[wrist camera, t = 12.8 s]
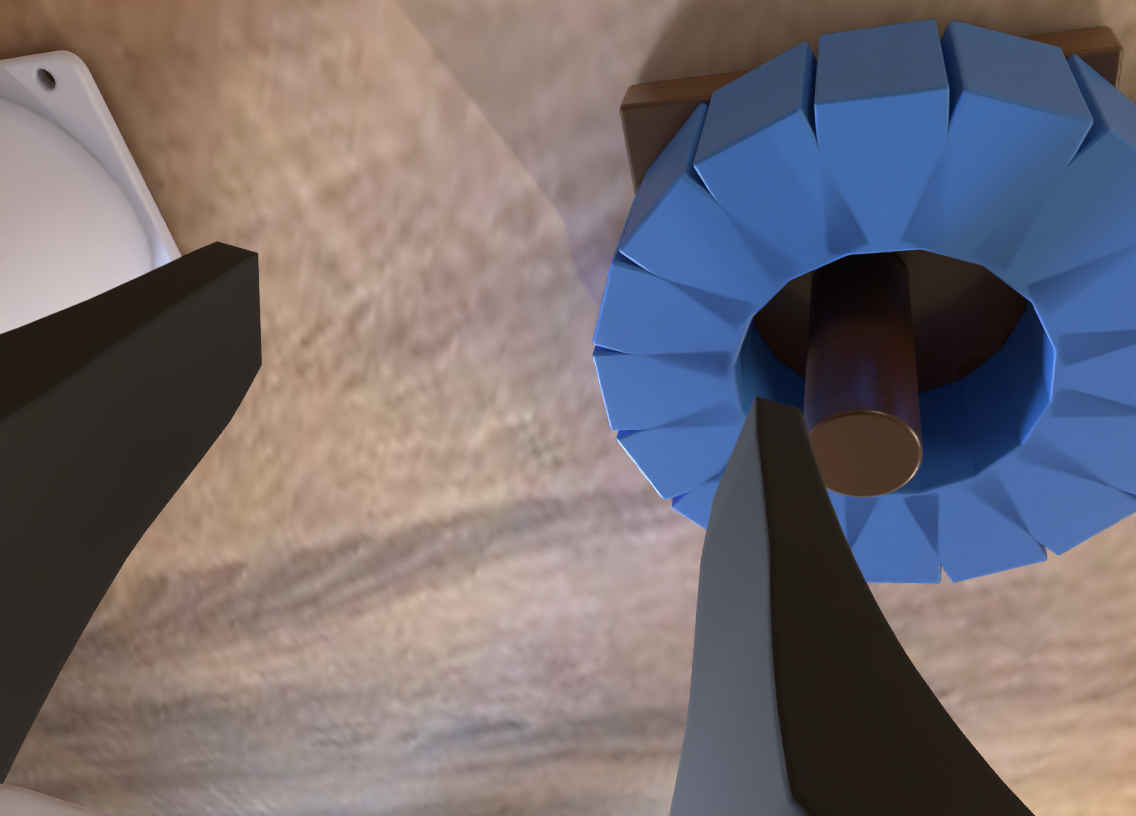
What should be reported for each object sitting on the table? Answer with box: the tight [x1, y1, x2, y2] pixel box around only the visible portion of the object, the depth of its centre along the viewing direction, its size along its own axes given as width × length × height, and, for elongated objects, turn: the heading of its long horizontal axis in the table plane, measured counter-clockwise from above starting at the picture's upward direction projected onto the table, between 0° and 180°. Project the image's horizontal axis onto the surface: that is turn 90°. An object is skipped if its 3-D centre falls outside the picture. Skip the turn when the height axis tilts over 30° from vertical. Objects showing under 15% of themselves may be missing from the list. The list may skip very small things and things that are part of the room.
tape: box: [593, 19, 1136, 584], centre depth 20 cm, size 11×11×3 cm
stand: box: [620, 26, 1124, 497], centre depth 19 cm, size 9×9×7 cm
